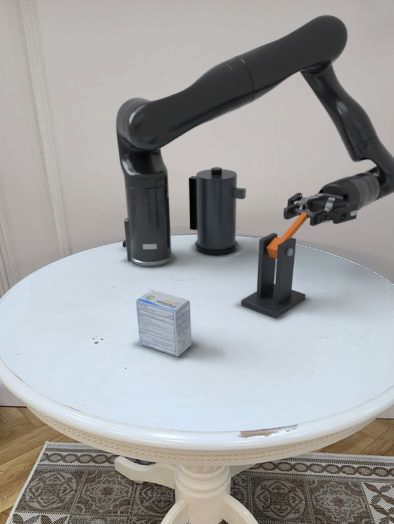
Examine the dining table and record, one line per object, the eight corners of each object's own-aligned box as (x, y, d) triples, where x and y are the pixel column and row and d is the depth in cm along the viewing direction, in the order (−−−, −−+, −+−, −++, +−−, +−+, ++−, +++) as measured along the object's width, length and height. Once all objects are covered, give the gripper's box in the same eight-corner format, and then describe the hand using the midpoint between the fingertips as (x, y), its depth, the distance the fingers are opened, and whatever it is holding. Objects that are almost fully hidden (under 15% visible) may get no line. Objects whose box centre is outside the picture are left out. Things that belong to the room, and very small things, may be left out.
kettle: (183, 251, 125) (180, 171, 115) (200, 237, 133) (199, 161, 123) (235, 259, 120) (237, 176, 111) (249, 244, 128) (253, 165, 118)
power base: (271, 288, 108) (275, 226, 101) (305, 299, 103) (311, 236, 96) (240, 305, 101) (242, 241, 95) (275, 318, 97) (280, 252, 90)
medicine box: (192, 345, 89) (191, 299, 85) (177, 358, 86) (175, 311, 82) (154, 333, 93) (151, 288, 88) (138, 345, 90) (134, 299, 85)
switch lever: (297, 214, 102) (295, 204, 101) (320, 219, 100) (318, 209, 98) (262, 255, 98) (260, 245, 96) (285, 261, 95) (283, 251, 94)
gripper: (315, 173, 111) (267, 190, 100) (379, 184, 103) (335, 204, 92) (311, 208, 115) (265, 228, 104) (373, 222, 107) (330, 245, 96)
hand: (298, 217), depth 98 cm, fingers closed on switch lever, 5 cm apart
